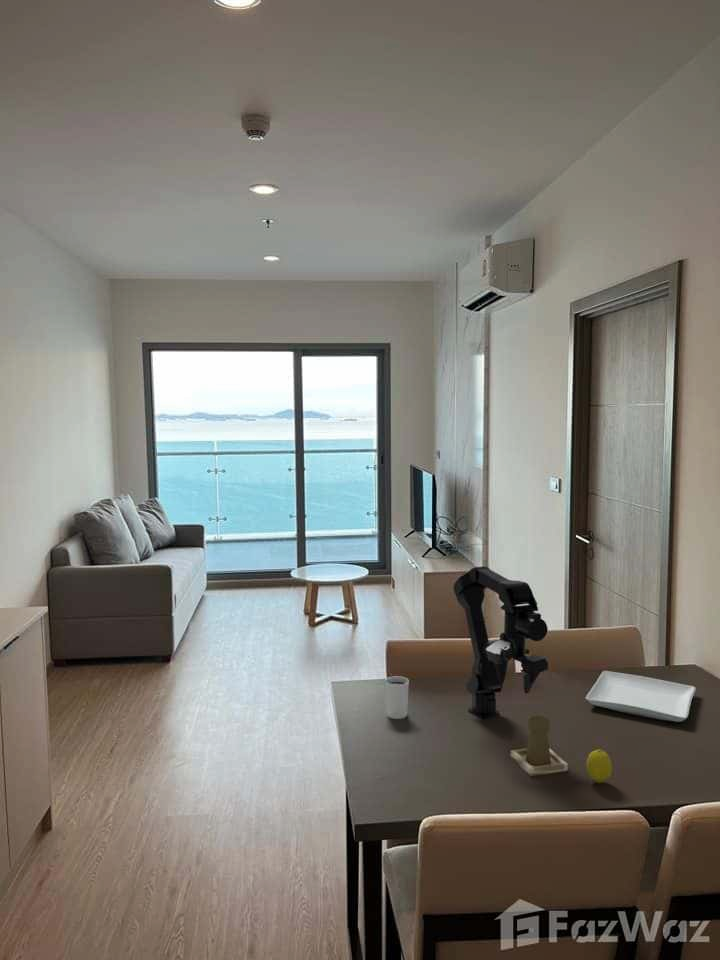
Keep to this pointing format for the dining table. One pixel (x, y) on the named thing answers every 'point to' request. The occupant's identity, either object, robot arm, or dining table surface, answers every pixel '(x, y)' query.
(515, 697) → the dining table surface
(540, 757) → the olive green cylinder
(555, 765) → the holder
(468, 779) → the dining table surface
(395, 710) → the drinking glass
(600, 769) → the lemon
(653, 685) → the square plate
